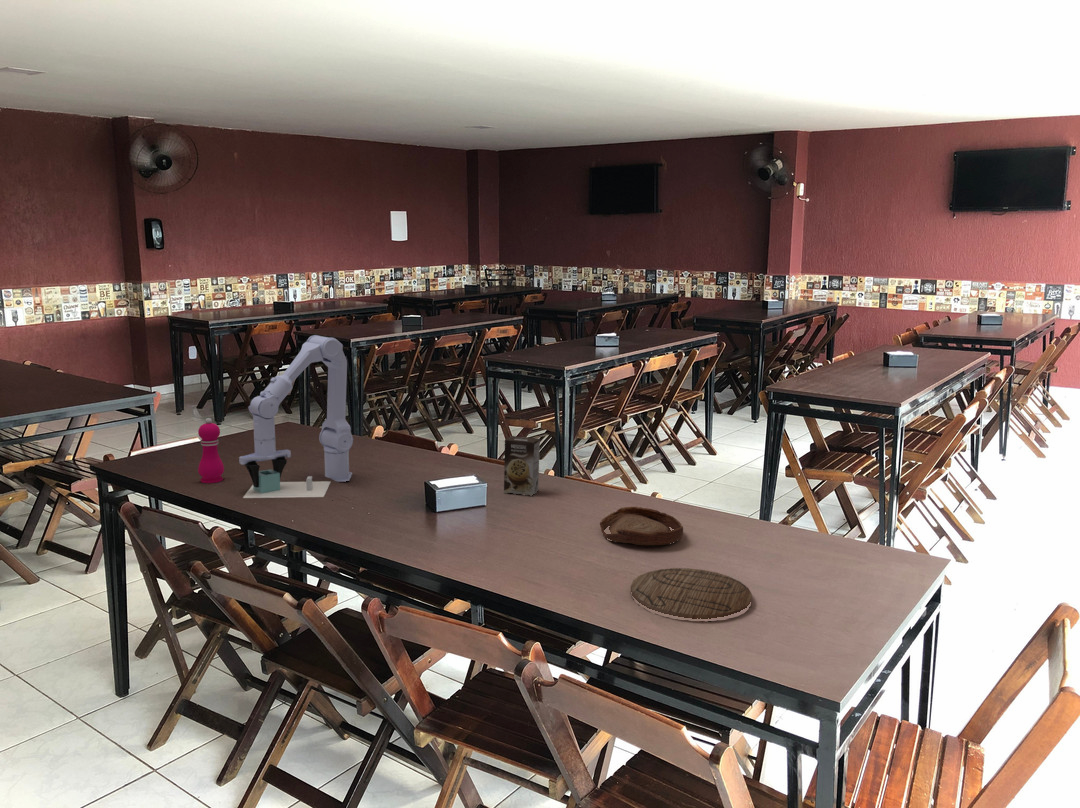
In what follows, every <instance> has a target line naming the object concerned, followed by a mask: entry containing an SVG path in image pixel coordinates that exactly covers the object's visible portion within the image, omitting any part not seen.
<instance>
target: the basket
mask: <svg viewBox="0 0 1080 808" xmlns="http://www.w3.org/2000/svg"><path fill="white" fill-rule="evenodd" d="M599 525H600V530H601V533H603V534H602V535H603V537H604V536H605V537H606V538H608V539H610V540H612V541H616V542H615V543H617V542H623V544H624V543H625V544H634V545H636V546H637V545H638V546H667V545H666V544H668V545H671V544H670V543H673V542H676V541H677V540H678V541H679V540H680V539H681V538H682V537H683V534H684V526H683V525H682V523H681V522H680V521H679V520H678V519H677V518H675V517H674V516H672V515H670V514H667V513H666V512H661V511H659V510H657V509H652V508H648V507H642V506H623V507H620V508H618V509H617V510H616V511H613V512H611V513H610V514H608V515H607V516H605V517H603V518H602V519H601V520H600V522H599ZM608 526H610V527H609V530H610V532H611V534H606V533H605V532H604V530H605V529H606V528H607V527H608ZM669 527H671V528H672V529H674V530H672V531H671V530H670V528H669ZM605 537H604V538H605ZM606 538H605V539H606ZM678 541H677V542H678ZM677 542H676V543H677ZM673 544H674V543H673Z"/></svg>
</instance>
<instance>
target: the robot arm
mask: <svg viewBox="0 0 1080 808" xmlns="http://www.w3.org/2000/svg"><path fill="white" fill-rule="evenodd" d="M343 348H344V345H343V343H341V342H340V341H339V340H338V339H336V338H335V337H328V336H322V335H317V334H314V335H311V336H309V337H308V339H306V341H305V342H304V343H303V344H302V345H301V349H300V351H299V352H298V354H297V355H296V356H295V358H294V359H293V360H292V362H291V363H290V364H289V365H288V367H287V368H286V370H285V371H284V372H283V373H282V374H281V375H276V376H274V377H273V376H272V377H271V378H270V382H269V383H268V385H267V386H266V387H265V388H264V390H262V391H260V393H259V395H258V396H255V397H253V398H252V399H251V401H250V404H249V406H248V407H247V408H248V411H249V412H250V414H251V416H252V420H253V421H252V422H253V441H254V442H253V444H254V452H252V453H249V454H247V455H246V454H245V455H241V456H239V457H238V459H239V462H238V463H239V464H240V465H244V466H245V468H246V469H247V471H248V473H249V475H250V477H251V481H252V485H254V487H256V488H257V487H259V471H260V467H261V466H260V465H259V464H258V462H259V463H260V462H265V461H270V460H271V463H272V470H274V471H276V472H278V473H280V479H281V477H282V473H283V470H284V469H285V467H286V464H287V463H288V460H287V458H291V457H292V453H291V450H290V449H279V450H276V449H277V448H276V447H277V446H276V426H275V425H276V424H275V416H276V415H277V414H278V412H279V406H280V405H281V403H282V402H283V400H284V399H285V398H286V397H287V396H288V394H289V393H290V392H291V391H292V390H293V382H294V381H295V380H296V379H297V378H298V377H299V375H301V374H302V373H303V371H305V369H307V367H308V366H309V365H310V364H312V363H318V362H322V363H323V364H324V365H325V366H326V367H327V399H326V401H327V403H326V409H327V410H326V419H325V420H324V421H323V422H322V425H321V427H322V428H321V431H320V433H319V434H318V435H319V440H318V441H319V443H320V444H321V445H322V447H323V452H324V453H323V455H324V457H323V458H324V477H326V478H327V479H330V480H333V481H335V482H337V483H342V482H343V483H344V482H346V481H349V482H350V481H351V478H352V476H353V472H351V471H350V460H349V459H350V457H349V455H350V454H349V452H350V449H351V448H352V447H353V443H354V437H353V435H352V432H351V430H352V428H351V425H350V424H349V423H348V421H347V419H346V416H347V414H346V411H347V382H348V381H347V379H348V376H347V374H348V361H347V357H346V356H345V353H344V350H343ZM346 483H347V482H346Z"/></svg>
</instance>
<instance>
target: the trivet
mask: <svg viewBox="0 0 1080 808" xmlns="http://www.w3.org/2000/svg"><path fill="white" fill-rule="evenodd" d="M631 592H632V596H633V597H634V598H635V599H636V600H637V601H638V602H639V603H641V604H642V605H644V606H646V607H647V608H649V609H652V610H655V611H658V612H661V613H664V614H669V615H673V616H678V617H684V618H692V619H697V618H698V619H700V618H701V619H708V618H709V619H711V618H717V617H724V616H728V615H731V614H734V613H737V612H740V611H741V610H743V609H745V608H747V606H748V605H749V604H750V602H751V603H752V599H753V598H752V596H753V594H752V592H751V590H750V588H749V587H748V586H746V585H745V584H744V583H742V582H741V581H740V580H737V579H735V578H733V577H731V576H730V575H725V574H722V573H719V572H715V571H710V570H707V569H706V570H705V569H697V568H685V567H684V568H682V567H681V568H679V567H677V568H675V567H671V568H660V569H656V570H652V571H648V572H645V573H643V574H640V575H638V576H637V577H636V578H635V579H633V580H632V583H631V585H630V593H631ZM632 596H631V597H632Z"/></svg>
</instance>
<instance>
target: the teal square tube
mask: <svg viewBox="0 0 1080 808" xmlns="http://www.w3.org/2000/svg"><path fill="white" fill-rule="evenodd" d="M280 482H281V478H280V473H278V472H276V471H274V470H273V468H271V469H265V470H259V487H257V488H256V487H254V485H253V484H252V485H253V489H254V490H256V491H258V492H260V493H261V494H262V493H267V492H273V491H278V490H280Z"/></svg>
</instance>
